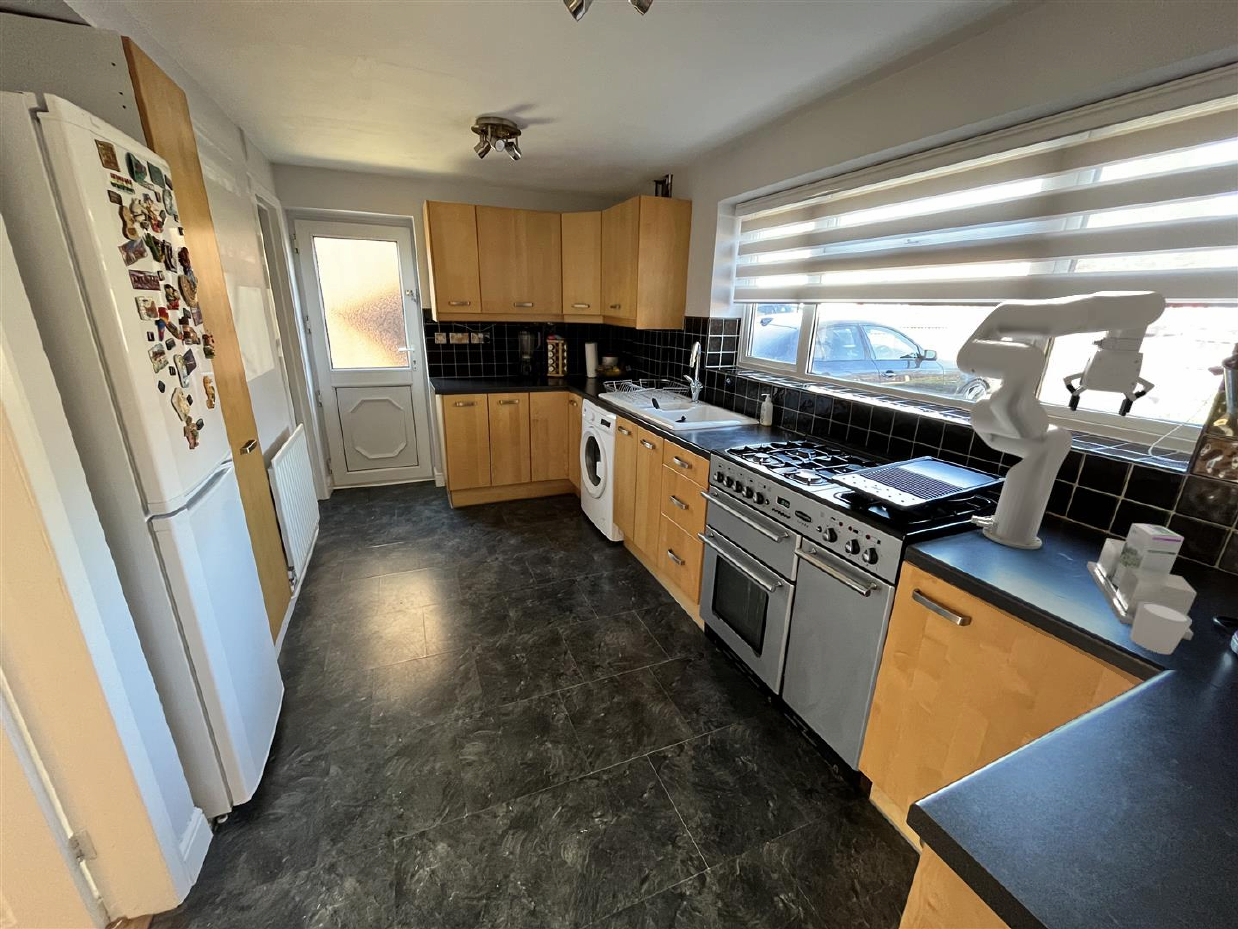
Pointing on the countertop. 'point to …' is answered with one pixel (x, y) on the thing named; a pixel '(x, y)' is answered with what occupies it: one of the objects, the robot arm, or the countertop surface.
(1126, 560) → the syrup box
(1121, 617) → the board
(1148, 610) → the grey mug
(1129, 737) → the countertop surface
